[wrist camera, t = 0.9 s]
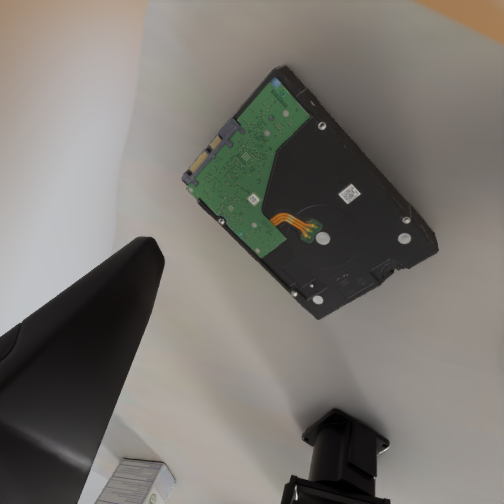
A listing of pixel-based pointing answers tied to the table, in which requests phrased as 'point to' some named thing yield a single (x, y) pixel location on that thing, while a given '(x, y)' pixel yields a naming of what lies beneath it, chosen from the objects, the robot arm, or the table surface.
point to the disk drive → (306, 198)
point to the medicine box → (138, 484)
